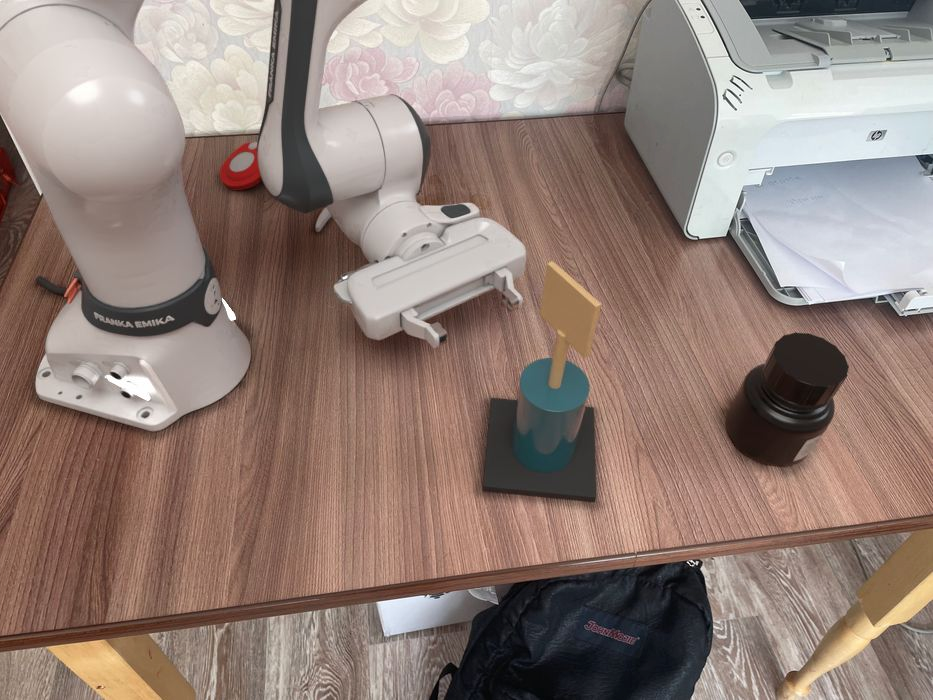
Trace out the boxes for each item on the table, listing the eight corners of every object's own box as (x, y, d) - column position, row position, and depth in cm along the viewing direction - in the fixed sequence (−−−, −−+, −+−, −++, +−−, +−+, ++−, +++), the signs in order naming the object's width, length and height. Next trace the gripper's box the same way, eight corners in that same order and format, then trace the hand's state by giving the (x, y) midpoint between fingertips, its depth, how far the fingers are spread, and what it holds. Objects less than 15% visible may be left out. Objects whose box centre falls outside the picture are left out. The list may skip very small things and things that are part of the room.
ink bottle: (817, 478, 72) (870, 406, 63) (728, 464, 72) (768, 391, 63) (803, 403, 78) (849, 328, 69) (721, 391, 79) (757, 315, 70)
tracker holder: (205, 184, 100) (230, 133, 105) (222, 205, 104) (245, 154, 109) (280, 181, 96) (302, 128, 101) (294, 203, 100) (315, 151, 105)
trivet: (482, 491, 70) (483, 486, 69) (491, 403, 77) (491, 397, 76) (594, 502, 69) (596, 497, 68) (592, 412, 76) (593, 407, 76)
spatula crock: (499, 438, 73) (516, 274, 56) (547, 410, 75) (578, 246, 58) (537, 483, 69) (568, 323, 52) (587, 453, 72) (631, 291, 55)
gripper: (322, 259, 73) (390, 342, 66) (484, 197, 81) (560, 264, 74) (329, 303, 78) (393, 385, 70) (481, 240, 86) (553, 308, 78)
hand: (480, 323), depth 72 cm, fingers open, 8 cm apart
